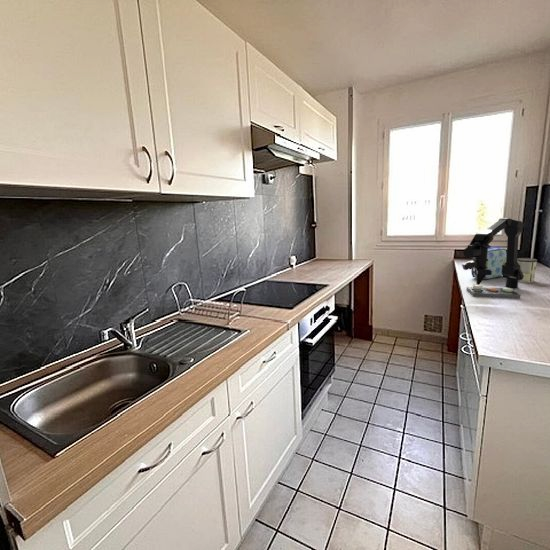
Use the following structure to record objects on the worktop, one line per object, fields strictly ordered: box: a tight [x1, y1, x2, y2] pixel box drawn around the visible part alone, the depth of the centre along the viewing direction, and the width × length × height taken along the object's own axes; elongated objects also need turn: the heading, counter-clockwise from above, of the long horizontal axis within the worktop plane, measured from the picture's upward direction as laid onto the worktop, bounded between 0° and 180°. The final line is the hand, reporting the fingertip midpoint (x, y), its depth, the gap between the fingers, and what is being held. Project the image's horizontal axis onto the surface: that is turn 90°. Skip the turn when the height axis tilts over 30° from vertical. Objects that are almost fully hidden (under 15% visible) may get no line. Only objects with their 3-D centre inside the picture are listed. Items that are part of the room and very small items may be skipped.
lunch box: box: [470, 246, 507, 280], centre depth 210 cm, size 26×11×21 cm, turn 118°
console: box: [466, 286, 522, 300], centre depth 168 cm, size 14×21×3 cm, turn 72°
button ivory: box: [472, 284, 483, 291], centre depth 170 cm, size 4×4×3 cm
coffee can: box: [517, 257, 538, 283], centre depth 198 cm, size 10×10×14 cm
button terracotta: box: [486, 286, 498, 292], centre depth 168 cm, size 4×4×3 cm
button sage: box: [502, 287, 514, 292], centre depth 166 cm, size 4×4×3 cm
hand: (478, 284), depth 169 cm, fingers closed
